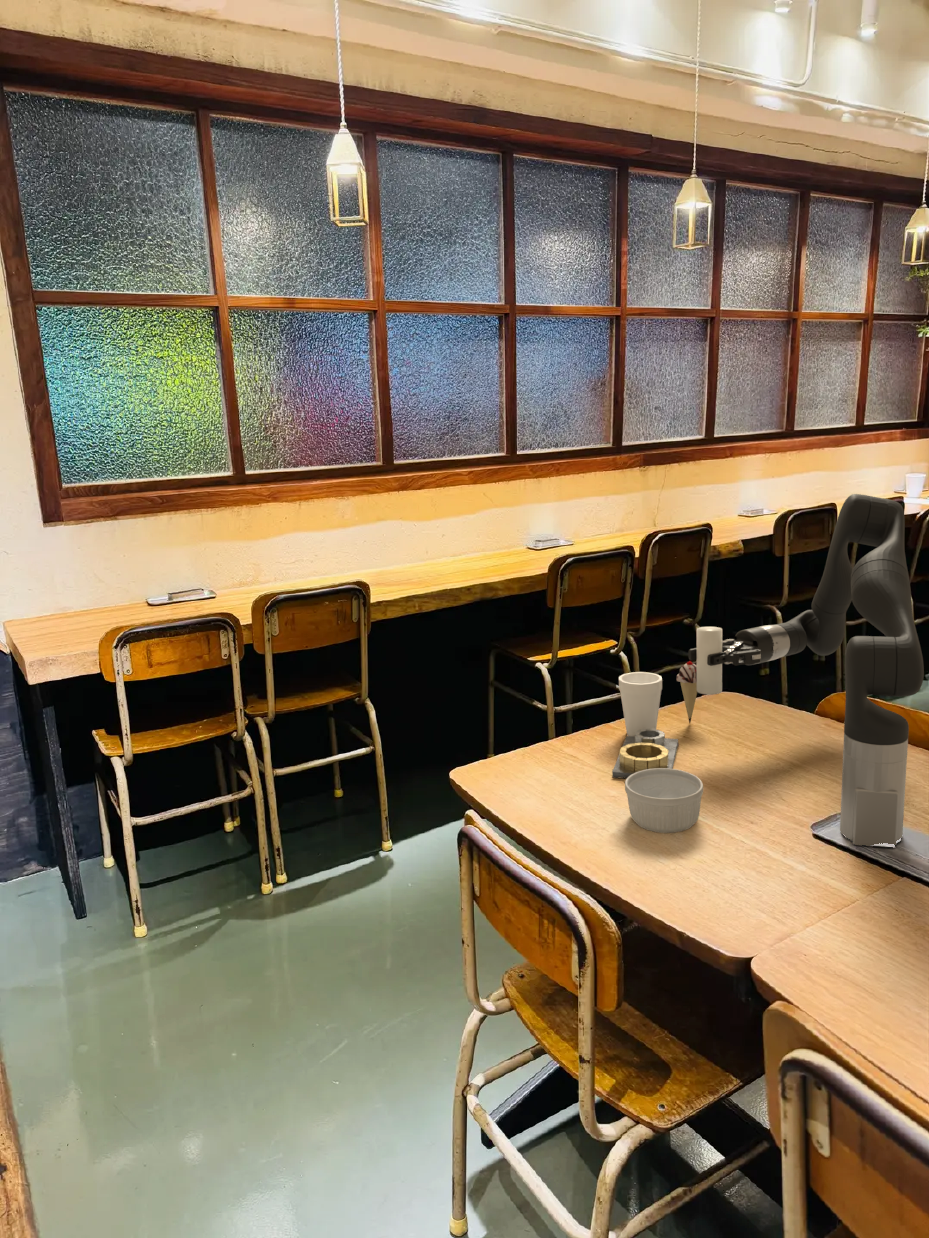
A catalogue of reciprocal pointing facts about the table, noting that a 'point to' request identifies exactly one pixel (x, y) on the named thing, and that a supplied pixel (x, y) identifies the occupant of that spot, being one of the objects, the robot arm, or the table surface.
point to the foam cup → (640, 700)
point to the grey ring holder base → (645, 753)
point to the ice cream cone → (688, 686)
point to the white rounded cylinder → (706, 674)
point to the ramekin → (664, 799)
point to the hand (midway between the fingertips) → (699, 657)
